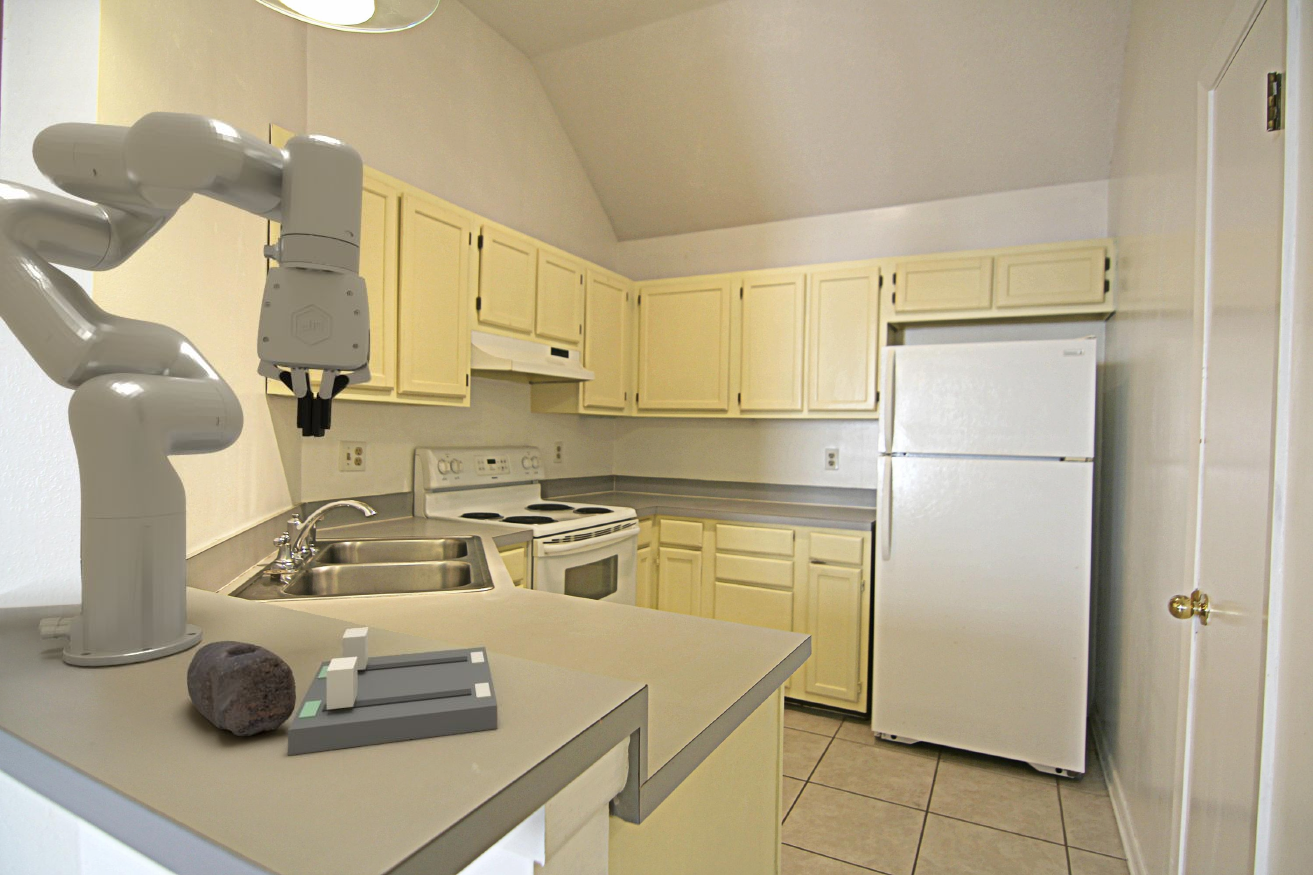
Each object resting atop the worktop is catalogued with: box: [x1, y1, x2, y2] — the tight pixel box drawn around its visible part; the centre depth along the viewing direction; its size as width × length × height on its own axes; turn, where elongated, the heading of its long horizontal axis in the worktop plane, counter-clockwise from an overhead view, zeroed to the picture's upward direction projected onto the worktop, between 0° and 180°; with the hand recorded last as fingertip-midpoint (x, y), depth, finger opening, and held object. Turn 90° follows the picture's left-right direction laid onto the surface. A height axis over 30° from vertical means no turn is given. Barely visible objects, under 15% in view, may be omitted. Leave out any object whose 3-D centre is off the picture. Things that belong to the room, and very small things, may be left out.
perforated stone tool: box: [186, 640, 297, 737], centre depth 59 cm, size 15×5×7 cm, turn 52°
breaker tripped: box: [327, 657, 357, 709], centre depth 57 cm, size 2×3×3 cm, turn 18°
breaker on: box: [342, 626, 370, 670], centre depth 65 cm, size 2×3×3 cm, turn 18°
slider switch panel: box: [287, 646, 498, 756], centre depth 62 cm, size 16×16×2 cm
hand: (313, 435), depth 71 cm, fingers closed
